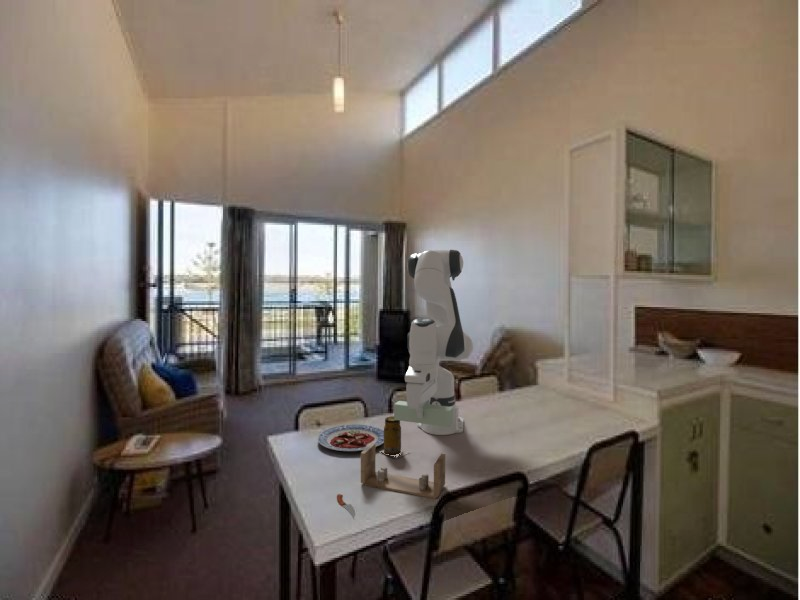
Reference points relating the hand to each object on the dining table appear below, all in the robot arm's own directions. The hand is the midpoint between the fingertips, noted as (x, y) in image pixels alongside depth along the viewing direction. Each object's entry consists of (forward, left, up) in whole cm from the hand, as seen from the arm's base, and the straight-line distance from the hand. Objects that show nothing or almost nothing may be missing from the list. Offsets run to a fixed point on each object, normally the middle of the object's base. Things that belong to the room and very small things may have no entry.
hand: (423, 414), depth 135 cm
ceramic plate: (-15, -32, -19) cm, 40 cm away
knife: (+26, -13, -19) cm, 35 cm away
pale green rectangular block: (0, 0, -2) cm, 2 cm away
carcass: (+10, -3, -19) cm, 21 cm away
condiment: (-11, -14, -19) cm, 26 cm away
